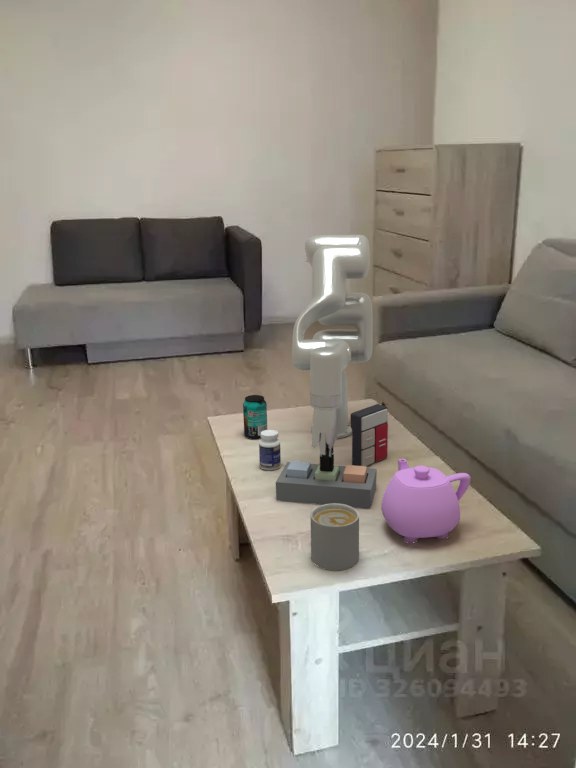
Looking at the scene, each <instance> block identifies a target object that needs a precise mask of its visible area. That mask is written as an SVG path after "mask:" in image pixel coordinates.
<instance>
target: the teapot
mask: <svg viewBox="0 0 576 768" xmlns="http://www.w3.org/2000/svg"><path fill="white" fill-rule="evenodd" d="M397 462H398V466H397V467H398V470H397V471H396V472H395V473H394V474H393V476H392V477H391V479H390V480H389V482H388V484H387V486H386V488H385V490H384V492H383V497H382V500H381V507H380V508H381V513H382V516H383V518H384V519H385V521H386V522H387V524H388V525H389V527H390V528H391V529H392V530H393V531H394V532H395V533H397V534H398V535H399V536H403V542H404V541H405V543H406V544H414V543H413V542H416V541H417V542H418V539H420V538H422V539H424V538H438V539H439V538H440V540H445V539H444V538H446V539H448V538H449V537H450V536H449V532H451V531H453V530H454V529H455V527H456V526H457V525H458V524H459V523H460V520H461V507H460V503H459V501H460V500H461V499H462V498H463V497H464V495H465V493H466V492H467V490H468V488H469V487H470V483H471V479H472V477H471V476H470V474H468V473H467V472H458V473H455V474H451V475H445V474H444V473H443V471H441V470H439V469H437V468H435V467H430V466H429V467H428V466H426V465H416V466H414V467H409V464H408V461H407V460H406V459H405V458H399V459H398V461H397ZM457 481H459V486H458V488H457V490H456V491H455V490H454V488H453V486H452V483H453V482H457ZM435 536H436V537H435ZM448 536H449V537H448ZM447 537H448V538H447ZM407 542H408V543H407ZM417 542H416V543H417Z"/></svg>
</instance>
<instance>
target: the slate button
mask: <svg viewBox="0 0 576 768" xmlns="http://www.w3.org/2000/svg"><path fill="white" fill-rule="evenodd" d="M290 462H291V463H290V464H289V466H288V468H287V477H290V478H303V479H308V478H309V476H310V474H311V464H312V462H311V461H301V460H300V461H297V460H290Z"/></svg>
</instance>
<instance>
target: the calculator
mask: <svg viewBox="0 0 576 768" xmlns="http://www.w3.org/2000/svg"><path fill="white" fill-rule="evenodd" d="M388 408H389V407H388V406H386V405H382V404H380V403H376V404H374V405H371V406H367V407H365V408H362V409H359V410H357V411H353V412H351V413H350V425H351V429H352V434H351V442H352V443H351V454H352V455H351V465H354V466H367V467H368V466H370V465H372V464H375V463H377V462H380V461H381V460H384V459H386V458H387V457H388V442H389V441H388V439H389V437H388V435H389V423H388V419H389V418H388V413H389V409H388Z"/></svg>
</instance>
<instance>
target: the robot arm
mask: <svg viewBox="0 0 576 768" xmlns="http://www.w3.org/2000/svg"><path fill="white" fill-rule="evenodd" d="M304 251H305V255H306V258H307V260H308V262H309V264H310V267H311V270H312V271H311V272H312V273H311V301H310V302H309V304H307V306H306V307H305V308H304V309H303V310H301V312H300V314H299V315H298V316H297V319H295V320H296V321H295V323H294V325H293V330H292V343H291V345H292V346H291V359H292V363H293V366H294V367H295V368H296V369H298V370H301V371H309V382H310V383H309V389H310V391H309V392H310V393H309V394H310V407H312V408H313V413H312V426H311V428H310V432H311V435H312V437H311V448H313V449H316V448H317V447H318V446H319V464H320V471H327V472H332V471H333V469H334V465H335V462H334V461H335V456H334V455H335V454H334V447H335V446H334V445H335V443H336V441H337V439H342V438H346V437H349V436H351V435H352V429H351V423H348V422H349V418H348V415H349V411H348V410H349V407H348V406H349V397H348V396H349V393H348V392H349V389H348V388H349V385H348V383H349V378H348V373H347V372H346V370H345V369H346V368H347V367H348V364H350V363H364V362H368V361H369V360H370V359H371V357H372V355H373V344H374V343H373V341H374V339H373V336H374V335H373V334H374V333H373V330H374V329H373V328H374V327H373V326H374V325H373V322H374V321H373V320H374V319H373V316H374V313H373V302H372V299H371V297H370V295H368V294H367V293H365V292H349V291H348V292H347V280H348V279H351V280H353V279H357V280H358V279H361V280H362V279H365V278H366V277H367V276H368V274H369V272H370V267H371V247H370V241H369V239H368V237H367V236H366V235H364V234H317V235H313V236H310V237H308V238H307V239H306V241H305V242H304ZM317 321H318V322H319V323H320V324H321V325H323V326H330V327H331V326H332V327H355V328H356V329H344V328H342V329H341V328H340V329H339V328H338V329H337V328H335V329H334V328H333V329H332V328H331V329H322V330H318V331H317V332H316V333H314V335H313V337H312V339H310V338H309V339H305V332H306V330H307V329H308V328H309V327H310V326H311V325H312V324H314V323H316V322H317Z"/></svg>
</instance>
